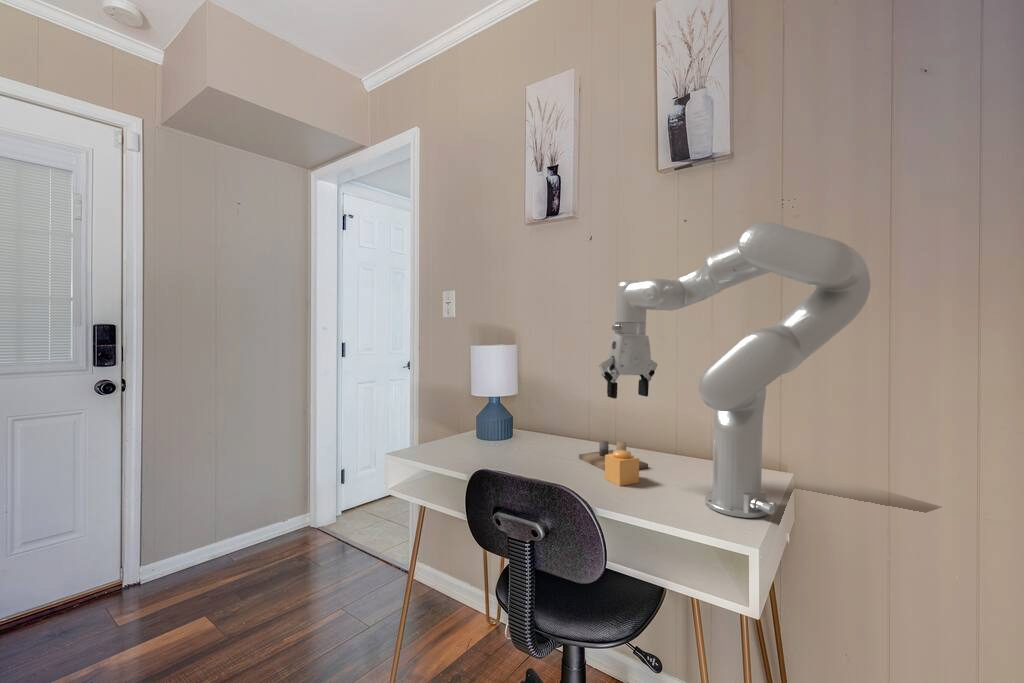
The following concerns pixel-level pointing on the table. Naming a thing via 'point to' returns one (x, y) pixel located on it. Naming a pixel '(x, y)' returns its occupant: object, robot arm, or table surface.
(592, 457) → the post board
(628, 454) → the knobbed tan cube
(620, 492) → the table surface
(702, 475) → the table surface
